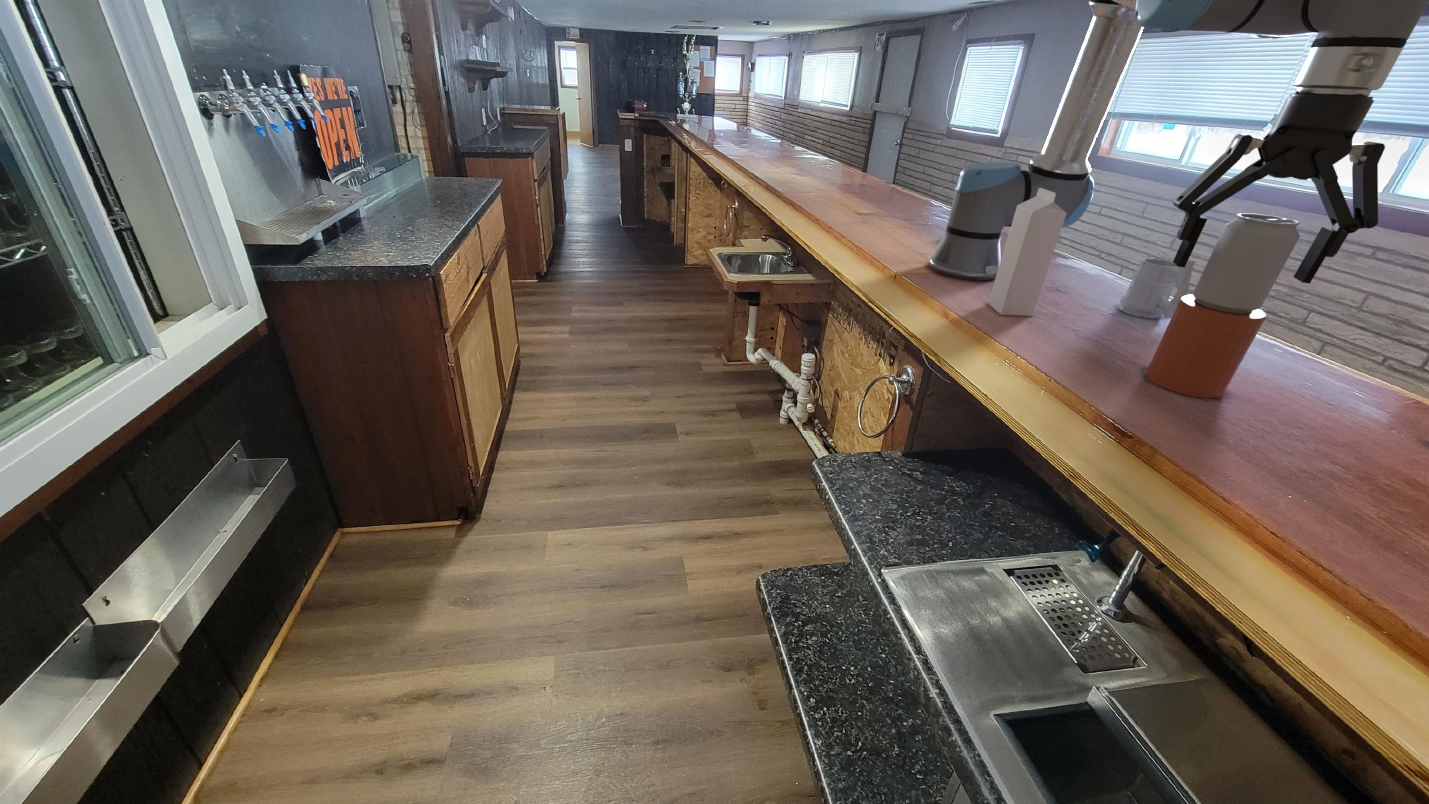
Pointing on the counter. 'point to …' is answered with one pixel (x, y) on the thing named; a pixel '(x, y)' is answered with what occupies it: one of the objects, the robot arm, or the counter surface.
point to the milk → (1027, 254)
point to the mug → (1156, 288)
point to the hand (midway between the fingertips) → (1238, 272)
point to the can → (1246, 262)
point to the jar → (1202, 348)
